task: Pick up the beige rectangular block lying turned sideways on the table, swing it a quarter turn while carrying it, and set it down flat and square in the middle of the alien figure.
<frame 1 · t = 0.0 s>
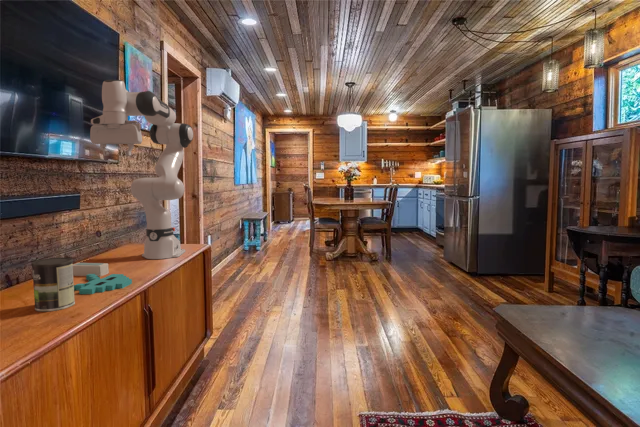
hand: (117, 155, 155), 48 cm above the table, tool pointing down, fingers open, 8 cm apart
beige rectangular block: (89, 275, 156), on the table
coffee can: (55, 306, 117), on the table
alien figure: (100, 287, 139), on the table
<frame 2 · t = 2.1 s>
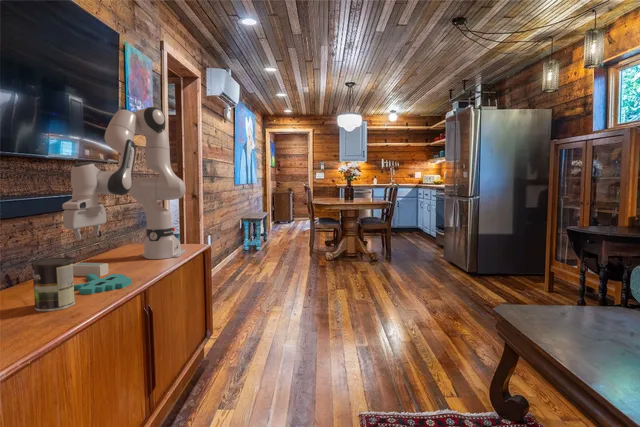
hand: (87, 237, 154), 15 cm above the table, tool pointing down, fingers open, 8 cm apart
nothing on the table moved.
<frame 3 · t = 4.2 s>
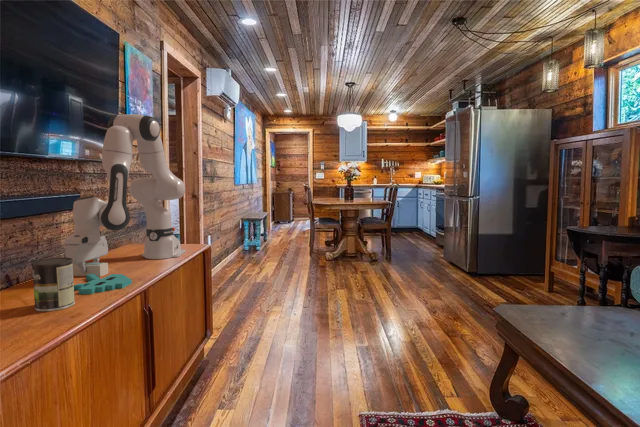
hand: (89, 270, 155), 2 cm above the table, tool pointing down, fingers closed on beige rectangular block, 5 cm apart
beige rectangular block: (89, 274, 156), on the table, touching gripper
everything else where it was.
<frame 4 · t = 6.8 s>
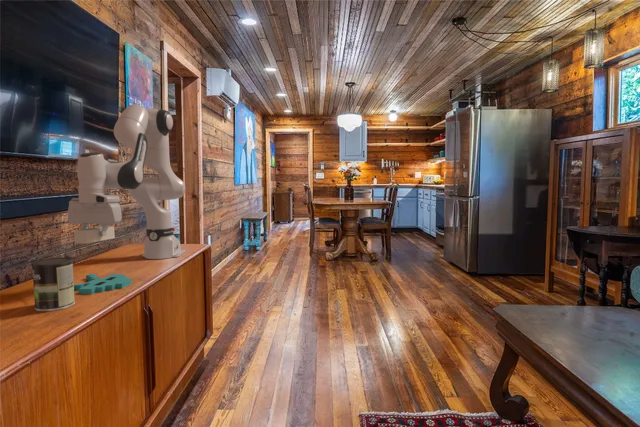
hand: (95, 235, 139), 18 cm above the table, tool pointing down, fingers closed on beige rectangular block, 5 cm apart
beige rectangular block: (95, 240, 139), point 16 cm above the table, touching gripper
everything else where it was.
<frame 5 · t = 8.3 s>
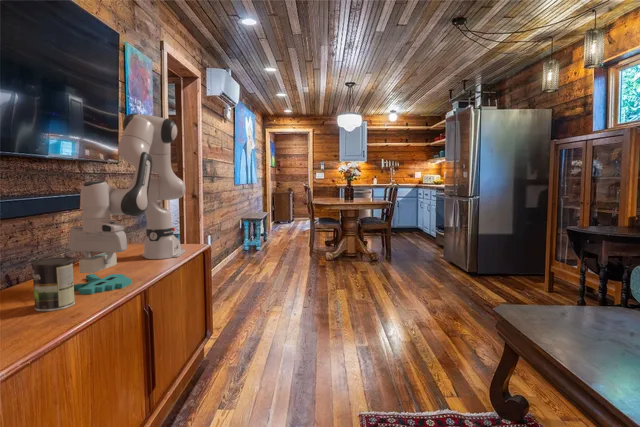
hand: (99, 263, 139), 8 cm above the table, tool pointing down, fingers closed on beige rectangular block, 5 cm apart
beige rectangular block: (99, 268, 139), point 6 cm above the table, touching gripper
everything else where it was.
when the fingers open (5 cm above the table, at t = 9.5 s): beige rectangular block drops 2 cm, resting on alien figure.
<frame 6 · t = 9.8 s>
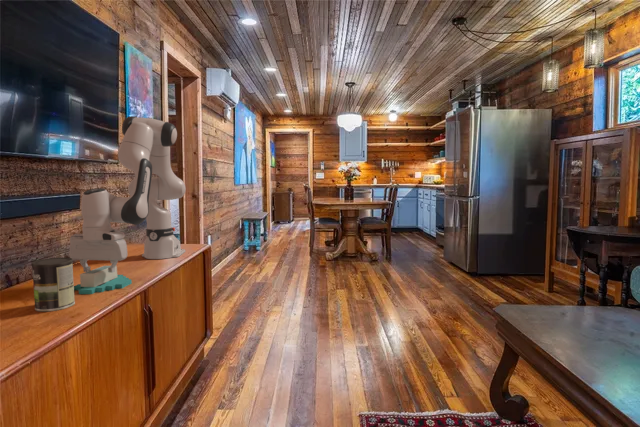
hand: (99, 271, 139), 5 cm above the table, tool pointing down, fingers open, 8 cm apart
beige rectangular block: (99, 281, 139), point 1 cm above the table, touching alien figure
alien figure: (99, 288, 139), on the table, touching beige rectangular block
everything else where it was.
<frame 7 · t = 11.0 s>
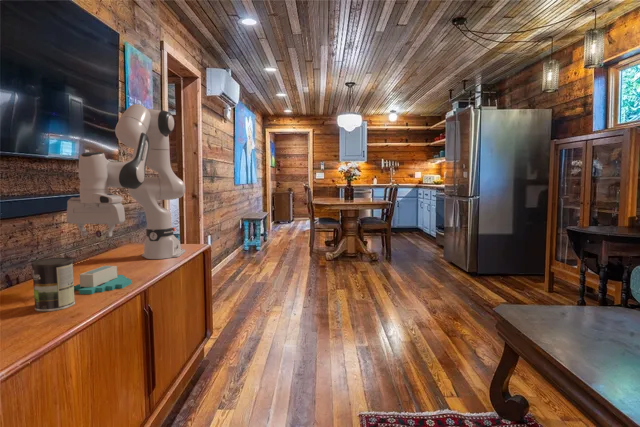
hand: (96, 236, 138), 18 cm above the table, tool pointing down, fingers open, 8 cm apart
nothing on the table moved.
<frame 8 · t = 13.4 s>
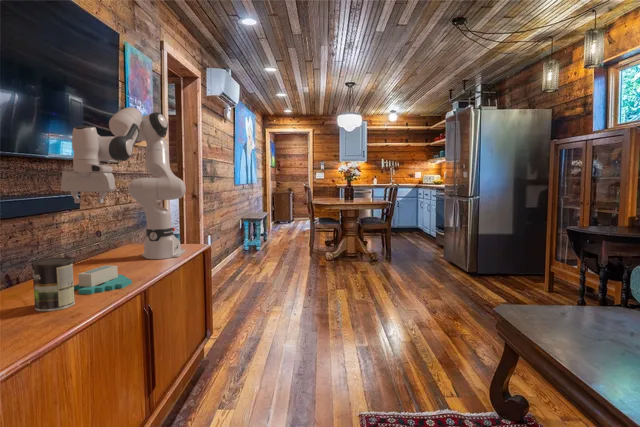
hand: (89, 203, 150), 29 cm above the table, tool pointing down, fingers open, 8 cm apart
nothing on the table moved.
at the end: beige rectangular block inside the target area on the alien figure (0.2 cm from its centre), point 2.4 cm above the alien figure's base; beige rectangular block tilted 0°; the gripper is holding nothing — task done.
